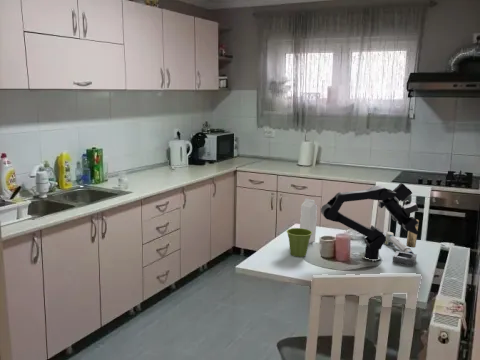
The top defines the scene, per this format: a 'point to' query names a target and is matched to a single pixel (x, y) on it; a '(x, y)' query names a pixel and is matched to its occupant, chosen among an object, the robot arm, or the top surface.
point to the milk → (309, 217)
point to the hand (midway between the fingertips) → (415, 232)
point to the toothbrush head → (396, 243)
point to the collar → (404, 258)
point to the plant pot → (298, 241)
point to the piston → (412, 237)
